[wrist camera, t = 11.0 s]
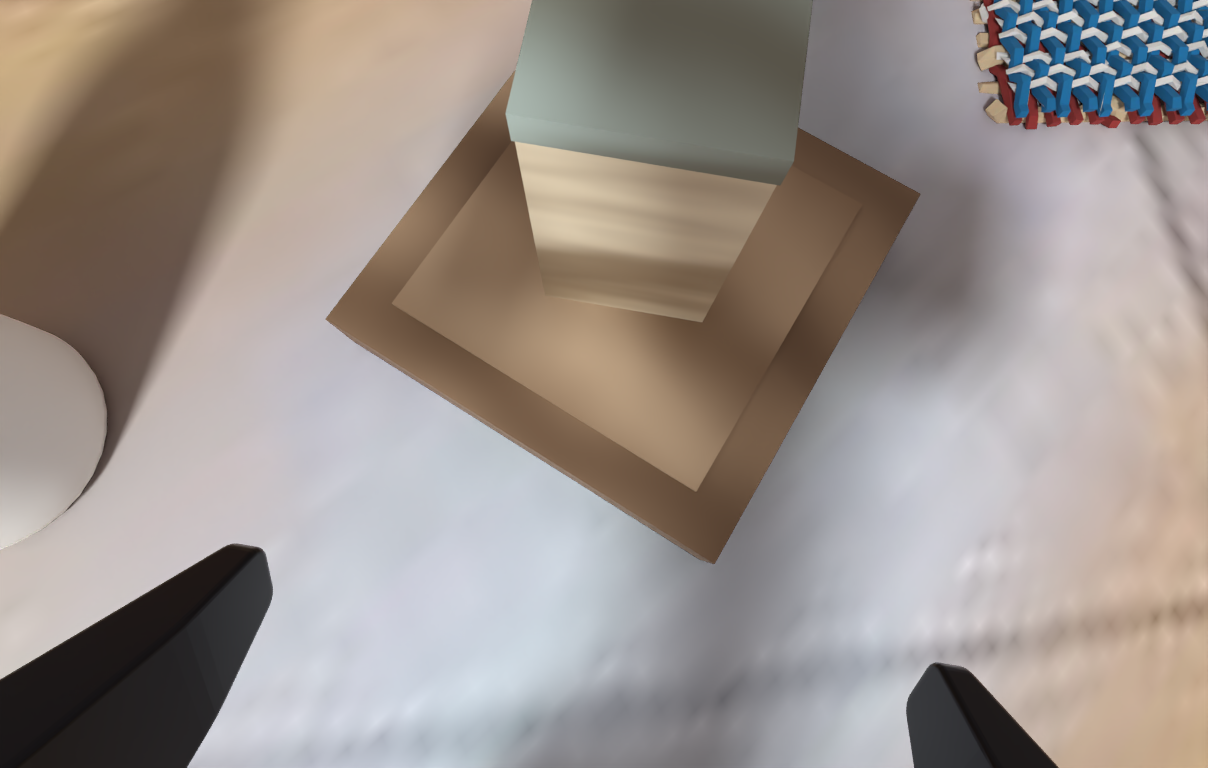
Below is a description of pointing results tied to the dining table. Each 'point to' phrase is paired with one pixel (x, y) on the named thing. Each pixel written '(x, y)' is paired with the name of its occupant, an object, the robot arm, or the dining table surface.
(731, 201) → the beech block
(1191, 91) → the woven mat
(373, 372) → the dining table surface
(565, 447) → the base
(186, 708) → the robot arm
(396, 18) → the dining table surface
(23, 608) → the dining table surface
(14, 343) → the milk bottle
